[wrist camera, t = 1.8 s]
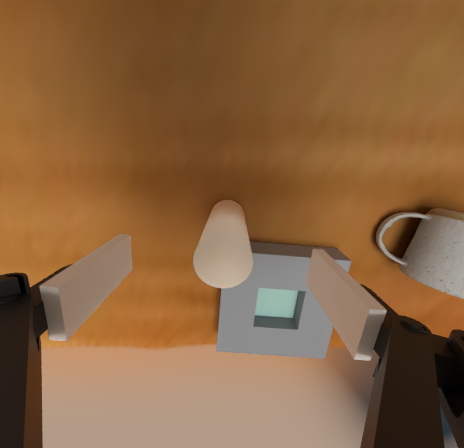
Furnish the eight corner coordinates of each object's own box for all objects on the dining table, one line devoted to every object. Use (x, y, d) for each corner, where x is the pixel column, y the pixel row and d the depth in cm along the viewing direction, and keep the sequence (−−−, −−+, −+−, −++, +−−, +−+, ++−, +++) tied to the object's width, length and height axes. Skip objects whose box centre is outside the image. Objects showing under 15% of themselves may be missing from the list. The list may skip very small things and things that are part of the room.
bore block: (225, 239, 27) (224, 251, 23) (336, 248, 27) (351, 260, 24) (218, 330, 31) (216, 351, 27) (314, 337, 31) (324, 358, 28)
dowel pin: (211, 198, 25) (194, 231, 14) (245, 201, 25) (256, 236, 14) (209, 230, 26) (192, 286, 15) (242, 233, 26) (249, 290, 15)
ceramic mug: (471, 211, 25) (566, 232, 18) (440, 271, 28) (513, 312, 20) (385, 196, 25) (446, 211, 18) (361, 258, 28) (406, 295, 20)
